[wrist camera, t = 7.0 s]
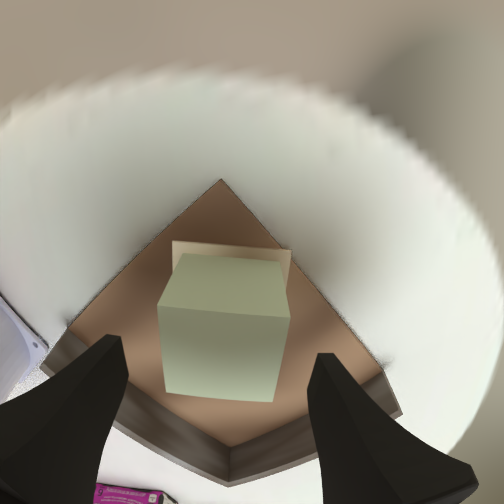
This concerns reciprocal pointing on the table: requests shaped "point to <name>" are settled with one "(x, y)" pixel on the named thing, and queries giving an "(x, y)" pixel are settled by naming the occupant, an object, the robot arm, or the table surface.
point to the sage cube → (223, 327)
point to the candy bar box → (128, 496)
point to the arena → (211, 409)
